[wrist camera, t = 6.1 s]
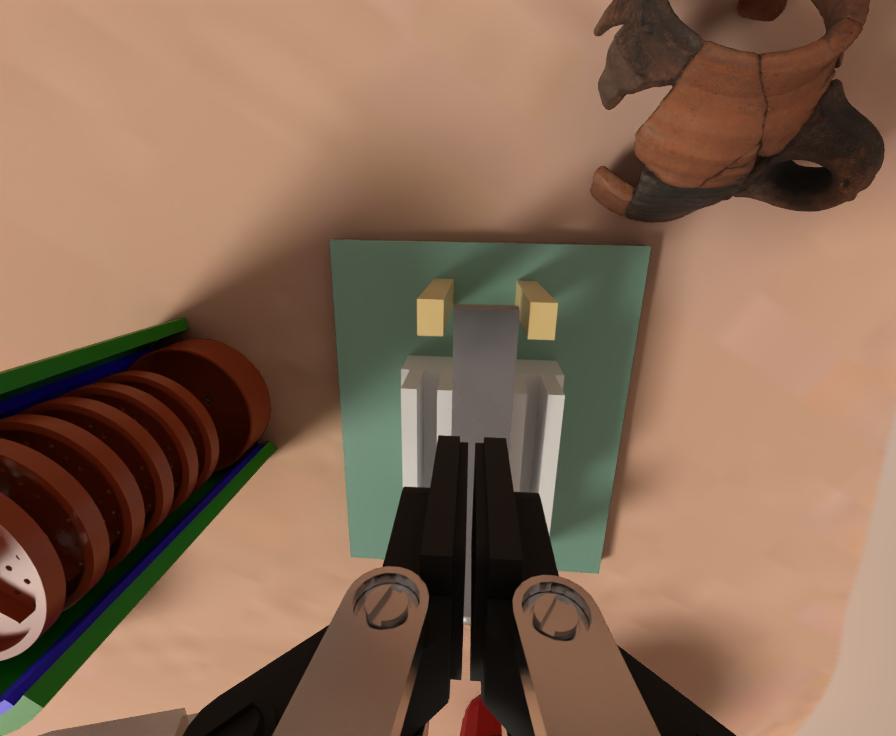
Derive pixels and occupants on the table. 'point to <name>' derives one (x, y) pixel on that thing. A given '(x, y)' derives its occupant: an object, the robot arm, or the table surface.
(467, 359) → the strap
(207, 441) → the motor
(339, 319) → the board
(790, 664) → the table surface
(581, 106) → the table surface
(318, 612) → the table surface
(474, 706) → the plastic cup
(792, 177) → the pottery mug
